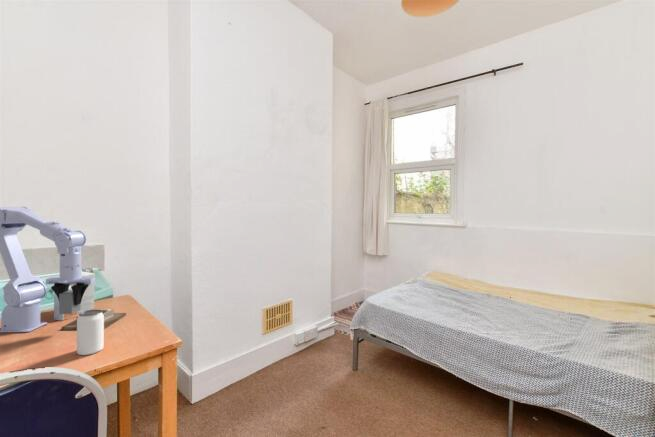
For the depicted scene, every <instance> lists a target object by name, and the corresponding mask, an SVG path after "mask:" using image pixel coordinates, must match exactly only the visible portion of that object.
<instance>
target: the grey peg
mask: <svg viewBox="0 0 655 437" xmlns="http://www.w3.org/2000/svg"><path fill="white" fill-rule="evenodd" d="M79 310H81V303H80V304H78V305H74V295H73V291H66V292H63V293H60V294H59V314H73V313H75V312H77V311H79Z"/></svg>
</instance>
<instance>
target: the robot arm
mask: <svg viewBox="0 0 655 437" xmlns="http://www.w3.org/2000/svg"><path fill="white" fill-rule="evenodd" d="M26 226H29V227H32V228H34V229H35V230H36V229H37V230H39V234H40V235H41V237H45V238H46V239H49V240H50V241H52V242H54V244H55V247H56V248H57V252H58V254H59V276H58V277H57V276H56V277H55V276H54V277H53V276H52V277H47V278H45V283H44V282H43V281H42V279H41V277H40V276H36V275H34V274H32V273H31V270H30V268H29V264H28V262H27V260H26V259H27V258H26V256H25V254H24V251H23V248H22V247H21V244H20V241H19V238H18V236H17V234H18V233H19V232H21V231H23V229H24V228H25V227H26ZM86 242H87V238H86V235H85V234H84V232H83V231H82V230H72V229H71V228H70V227H66V226H63V225H62V224H60V222H59V221H54V220H53V221H47V220H45V219H44V218H42V217H41V216H39V215H37V214H36V213H34V210H33V209H31V208H28V206H19V207H18V206H0V256H1V258H2V261H3V264H4V268H5V270H6V272H7V276H8V277H9V281H8V282H6V284H5V285H4V286H3V287H2V290H3V300H4V302H5V304H6V306H4V307H3V309H2V311H1V314H0V318H1V320H0V323H1V325H0V327H1V329H0V333H30V332H32V331H33V330H34V331H35V330H37V329H38V328H40V327H42V326H45V325H47V324H48V322H47V321H41V302H43V301H44V300H43V299H44V298H45V297H46V296H47V294H48V287H47V285H51V286H50V289H51V290H52V292H55V294H56V295H57V297H58V300H59V294H60V293H63V292H66V291H68V289H69V285H70V284H76V285H74V286H71V288H72V291H73V295H74V305H78V304H80V303H81V301H82V297H83V295H84V292H85V290H86V289H87V287H88V286H89V285H91V284H94V283H95V284H96V277H95V278H88V277H81V271H82V247H83V246H84V245H85V244H86ZM52 284H53V285H52Z"/></svg>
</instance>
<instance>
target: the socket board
mask: <svg viewBox="0 0 655 437" xmlns="http://www.w3.org/2000/svg"><path fill="white" fill-rule="evenodd" d="M91 310H102V313H103V315H104V330H105V329H107V328H108V327H110V326H112V325H113V324H115V323H116V322H117V321H119V320H120V319H122V318H124V317H126V316H127V312H114V311H115V309H114V308H113V309H110V308H109V309H104V308H103V309H102V308H101V309H100V308H99V309H95V308H94V309H91ZM78 317H79V315H77V316H76V319H75V320H73V321H71V322H69V323H67V324H65V325H63V326H61V331H71V330H72V331H74V330H75V331H77V319H78Z"/></svg>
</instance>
